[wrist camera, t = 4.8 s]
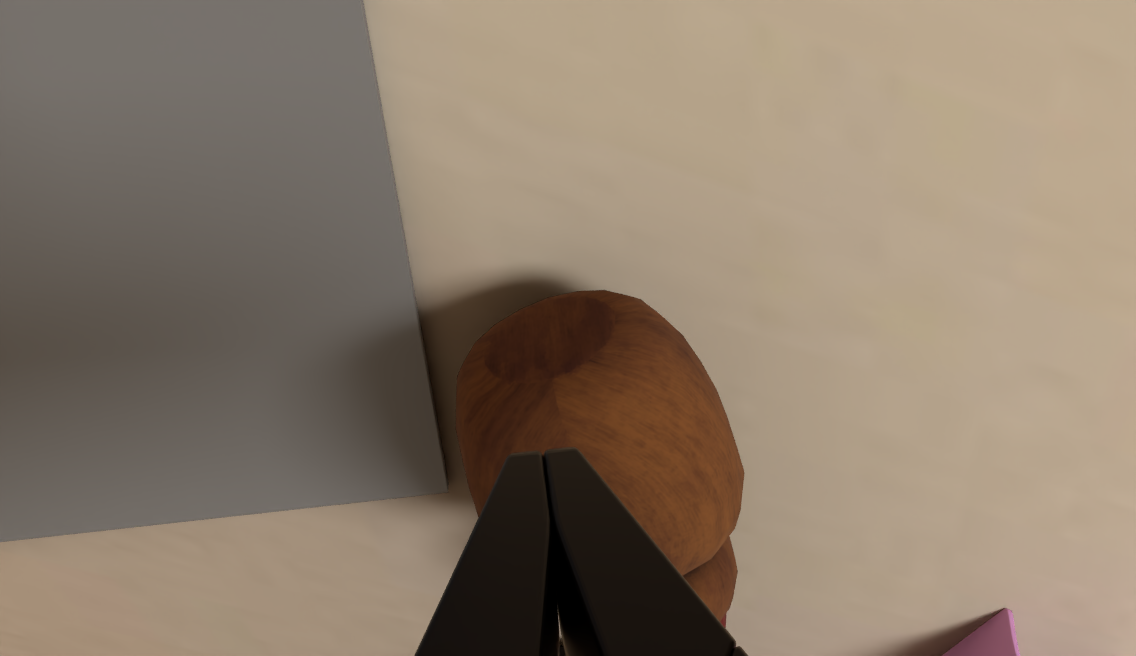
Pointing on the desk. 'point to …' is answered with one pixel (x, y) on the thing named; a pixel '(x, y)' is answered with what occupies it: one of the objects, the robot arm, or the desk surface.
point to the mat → (201, 268)
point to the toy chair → (990, 638)
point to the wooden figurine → (611, 421)
